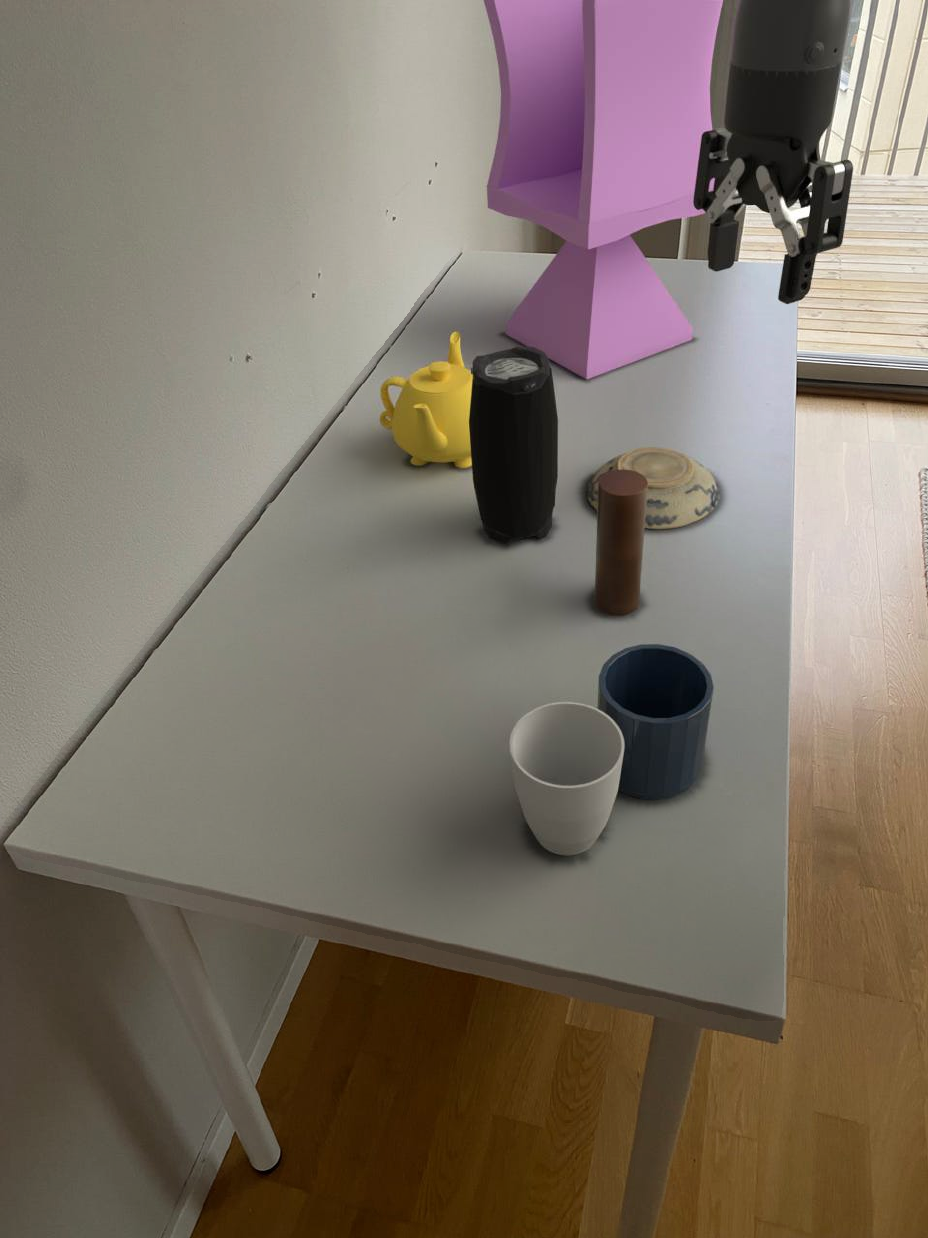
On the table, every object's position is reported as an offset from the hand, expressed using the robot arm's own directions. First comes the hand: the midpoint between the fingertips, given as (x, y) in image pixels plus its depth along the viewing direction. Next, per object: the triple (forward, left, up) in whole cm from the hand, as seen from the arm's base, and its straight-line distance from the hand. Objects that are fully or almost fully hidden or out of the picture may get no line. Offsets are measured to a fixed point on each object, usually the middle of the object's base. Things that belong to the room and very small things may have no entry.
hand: (754, 283), depth 76 cm
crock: (-7, +25, -30) cm, 40 cm away
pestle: (+6, +9, -30) cm, 32 cm away
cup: (-6, +35, -30) cm, 47 cm away
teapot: (+40, -4, -30) cm, 50 cm away
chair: (+41, -42, -30) cm, 66 cm away
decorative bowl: (+13, -10, -30) cm, 34 cm away
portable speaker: (+22, +4, -30) cm, 38 cm away
